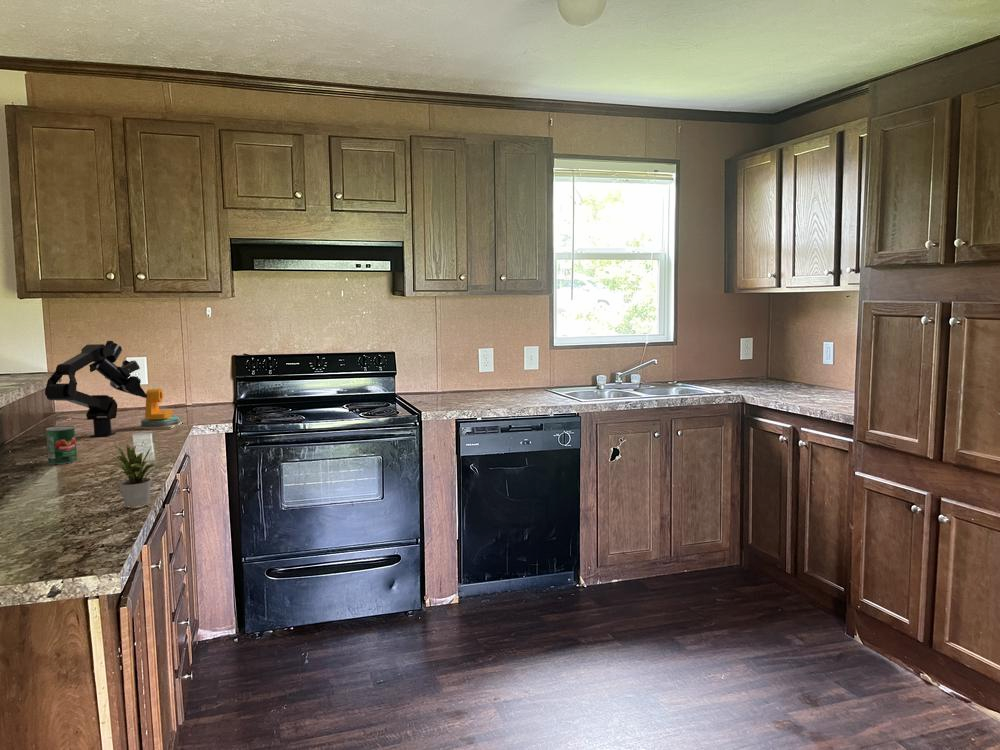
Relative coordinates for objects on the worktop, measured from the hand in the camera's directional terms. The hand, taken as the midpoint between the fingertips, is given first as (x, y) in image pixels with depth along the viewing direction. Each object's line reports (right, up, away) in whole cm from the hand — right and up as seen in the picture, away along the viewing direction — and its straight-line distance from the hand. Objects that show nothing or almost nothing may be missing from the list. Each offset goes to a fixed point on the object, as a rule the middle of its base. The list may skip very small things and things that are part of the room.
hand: (142, 395), depth 292 cm
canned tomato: (+2, -19, -56) cm, 59 cm away
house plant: (+48, -24, -107) cm, 120 cm away
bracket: (+4, -9, +5) cm, 12 cm away
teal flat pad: (+5, -12, +6) cm, 14 cm away
